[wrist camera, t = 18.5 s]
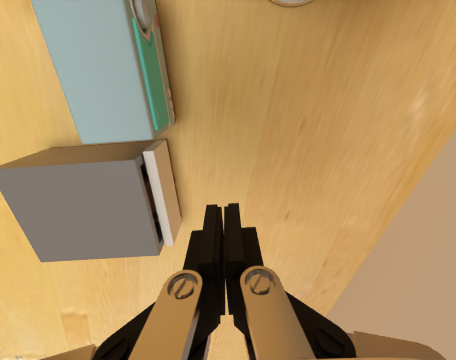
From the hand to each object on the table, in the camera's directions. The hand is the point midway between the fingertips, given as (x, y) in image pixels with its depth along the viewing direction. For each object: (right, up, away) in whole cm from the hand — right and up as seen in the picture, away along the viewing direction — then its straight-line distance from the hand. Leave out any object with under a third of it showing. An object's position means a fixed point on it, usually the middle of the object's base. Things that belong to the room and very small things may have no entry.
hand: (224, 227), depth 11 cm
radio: (-12, +19, +19) cm, 29 cm away
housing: (-20, +2, +26) cm, 33 cm away
